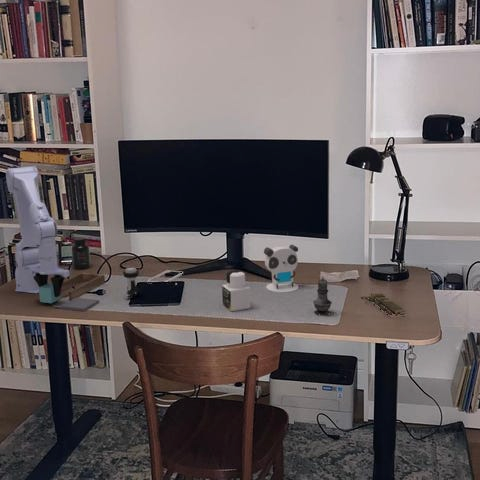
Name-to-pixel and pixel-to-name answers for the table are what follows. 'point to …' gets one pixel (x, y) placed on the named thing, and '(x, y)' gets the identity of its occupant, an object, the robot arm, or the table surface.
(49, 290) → the block
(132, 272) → the push button
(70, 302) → the pad
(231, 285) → the medicine bottle
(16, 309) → the table surface
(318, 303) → the dark grey chess piece
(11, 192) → the robot arm
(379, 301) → the olive brown jagged slab
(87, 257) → the supplement bottle
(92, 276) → the channel
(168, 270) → the phone case
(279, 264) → the panda figurine
